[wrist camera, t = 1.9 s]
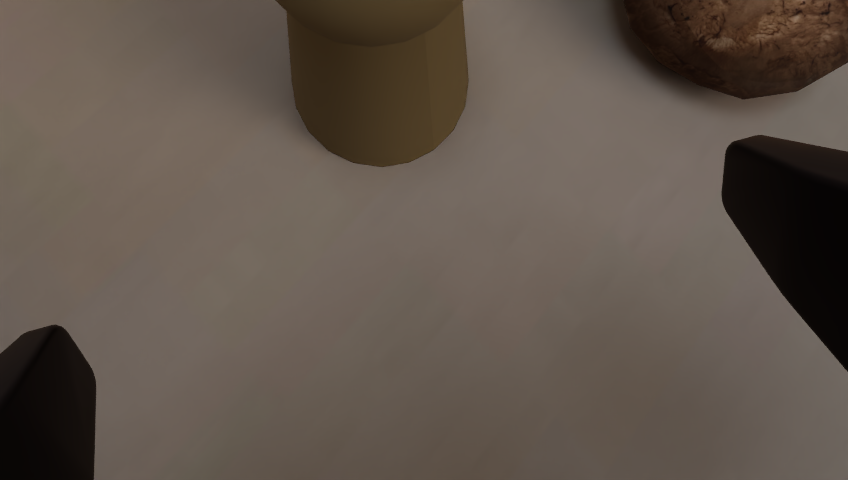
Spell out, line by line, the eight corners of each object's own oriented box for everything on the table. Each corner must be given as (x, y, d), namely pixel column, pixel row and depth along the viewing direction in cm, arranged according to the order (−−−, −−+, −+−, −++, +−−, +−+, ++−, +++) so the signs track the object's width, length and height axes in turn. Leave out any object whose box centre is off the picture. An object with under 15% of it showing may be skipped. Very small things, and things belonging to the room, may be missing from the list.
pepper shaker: (269, 27, 23) (154, -241, 12) (434, -24, 24) (463, -325, 13) (323, 190, 23) (252, 58, 12) (493, 134, 23) (576, -43, 12)
